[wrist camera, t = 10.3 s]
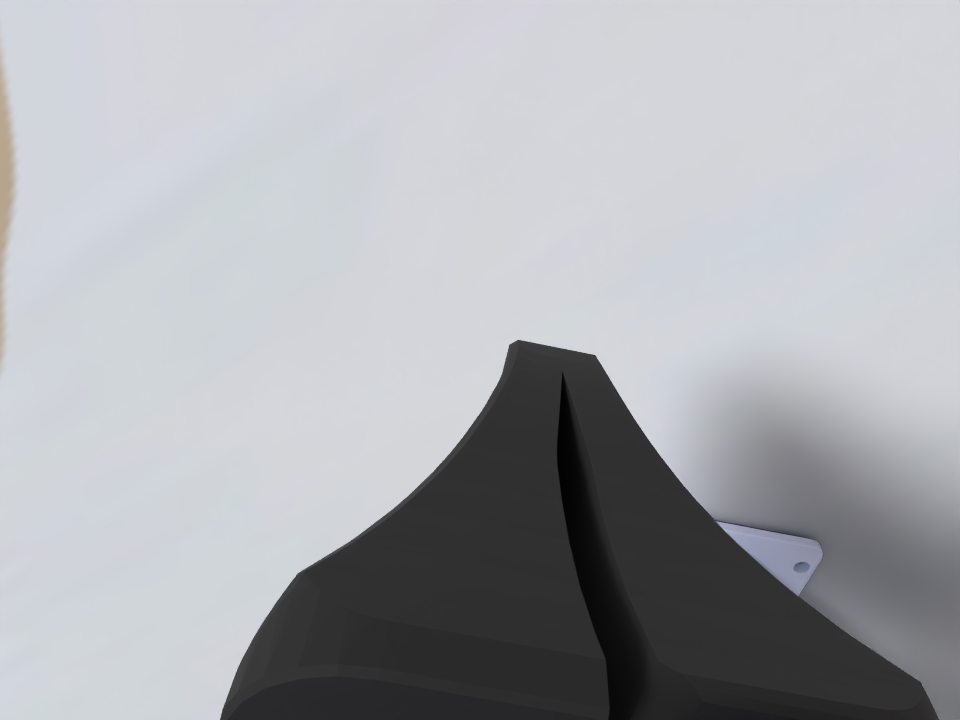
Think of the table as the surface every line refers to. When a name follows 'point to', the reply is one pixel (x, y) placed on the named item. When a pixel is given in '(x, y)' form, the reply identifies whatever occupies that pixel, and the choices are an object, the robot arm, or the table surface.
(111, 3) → the table surface
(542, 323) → the table surface
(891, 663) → the robot arm
